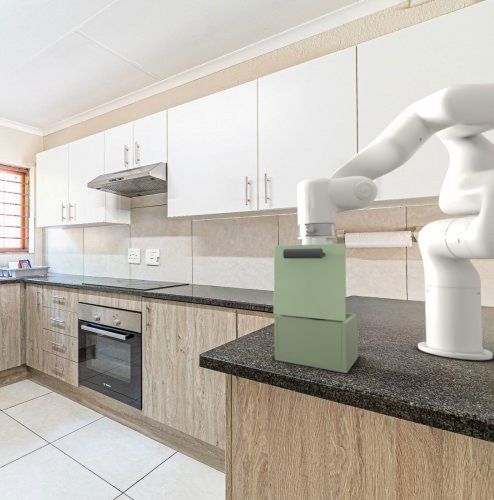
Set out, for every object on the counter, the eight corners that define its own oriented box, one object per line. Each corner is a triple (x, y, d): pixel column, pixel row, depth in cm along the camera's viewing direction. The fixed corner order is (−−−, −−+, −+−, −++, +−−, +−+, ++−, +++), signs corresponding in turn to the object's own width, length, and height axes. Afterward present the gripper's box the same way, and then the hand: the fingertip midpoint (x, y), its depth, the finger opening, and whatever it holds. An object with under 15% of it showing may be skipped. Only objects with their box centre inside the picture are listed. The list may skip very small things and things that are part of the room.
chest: (294, 347, 88) (293, 308, 88) (358, 356, 79) (357, 313, 79) (274, 360, 77) (274, 316, 78) (346, 373, 68) (345, 323, 68)
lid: (275, 246, 79) (266, 243, 75) (345, 244, 70) (340, 241, 66) (274, 314, 78) (266, 315, 74) (346, 321, 69) (340, 322, 65)
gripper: (326, 230, 71) (328, 318, 71) (342, 233, 84) (344, 308, 83) (287, 232, 76) (289, 314, 76) (308, 235, 89) (309, 305, 88)
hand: (318, 310), depth 80 cm, fingers closed on onion, 5 cm apart
